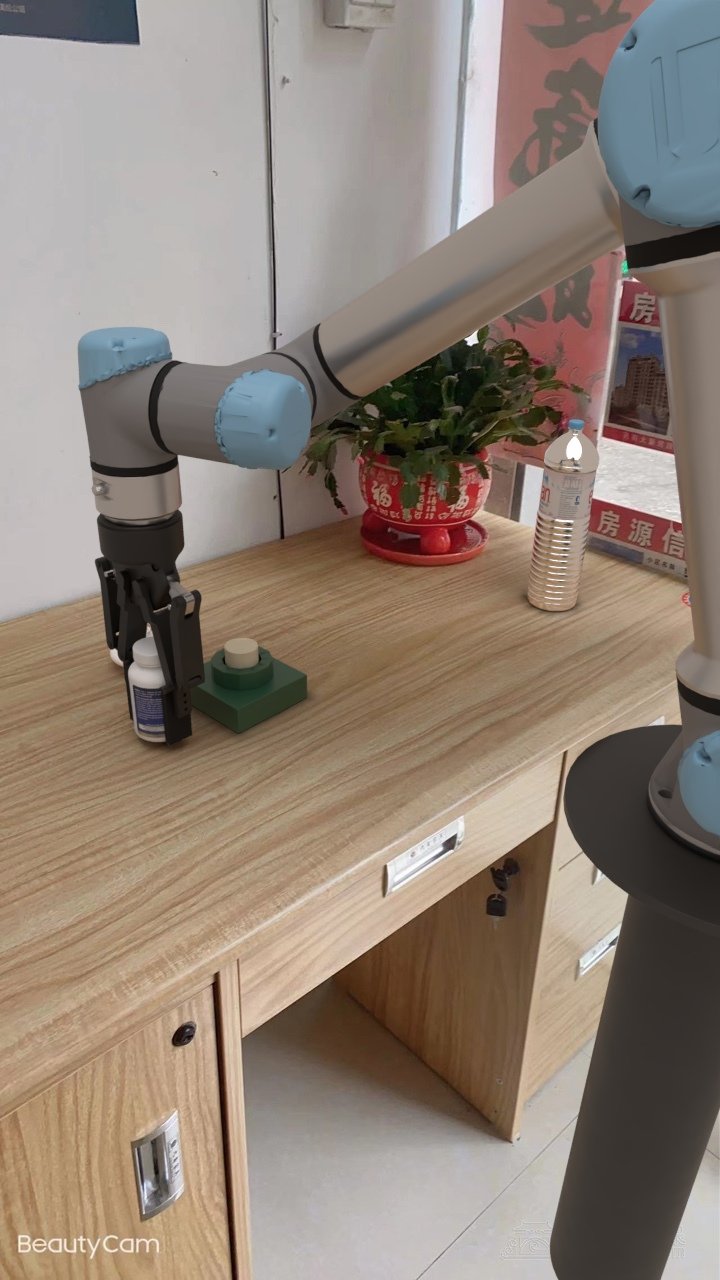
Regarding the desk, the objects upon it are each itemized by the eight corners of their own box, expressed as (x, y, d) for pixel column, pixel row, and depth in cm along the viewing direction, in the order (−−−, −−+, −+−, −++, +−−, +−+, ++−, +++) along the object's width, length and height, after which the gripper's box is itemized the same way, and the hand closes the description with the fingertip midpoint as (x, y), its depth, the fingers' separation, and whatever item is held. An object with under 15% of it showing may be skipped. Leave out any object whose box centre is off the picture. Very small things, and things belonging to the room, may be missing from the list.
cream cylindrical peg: (265, 661, 96) (265, 645, 95) (240, 673, 93) (239, 657, 92) (243, 650, 98) (243, 634, 97) (218, 661, 96) (217, 645, 95)
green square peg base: (307, 697, 98) (307, 658, 96) (238, 734, 92) (236, 693, 89) (248, 666, 104) (246, 628, 102) (179, 697, 98) (176, 658, 95)
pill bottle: (197, 733, 90) (191, 649, 85) (147, 750, 87) (138, 664, 82) (174, 708, 93) (167, 627, 89) (126, 724, 91) (116, 641, 86)
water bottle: (567, 617, 117) (595, 431, 106) (518, 605, 120) (541, 422, 108) (582, 598, 123) (611, 419, 111) (536, 587, 126) (559, 411, 114)
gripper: (47, 495, 82) (78, 706, 93) (167, 550, 71) (186, 782, 82) (116, 478, 87) (138, 680, 98) (238, 527, 76) (248, 748, 87)
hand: (160, 726), depth 90 cm, fingers closed on pill bottle, 5 cm apart
